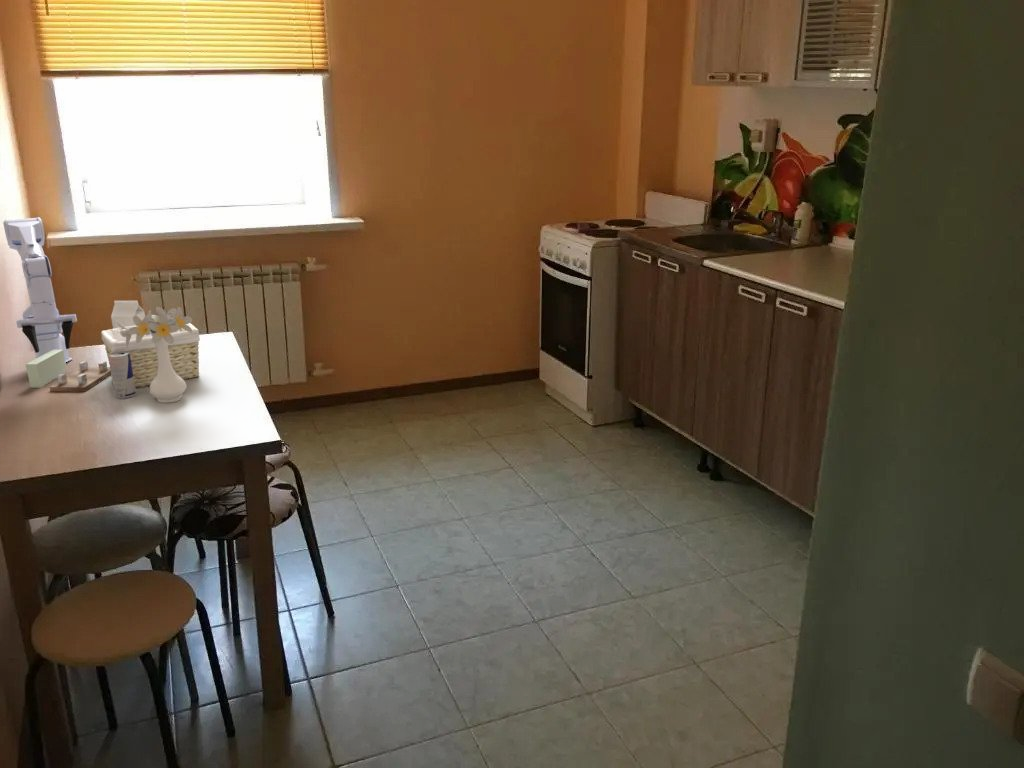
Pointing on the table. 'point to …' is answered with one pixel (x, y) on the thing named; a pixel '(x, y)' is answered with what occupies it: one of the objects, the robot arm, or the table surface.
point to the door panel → (46, 368)
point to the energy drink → (122, 375)
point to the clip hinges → (82, 378)
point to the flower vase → (161, 349)
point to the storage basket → (146, 354)
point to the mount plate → (72, 380)
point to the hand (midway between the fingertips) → (52, 350)
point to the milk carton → (126, 313)
